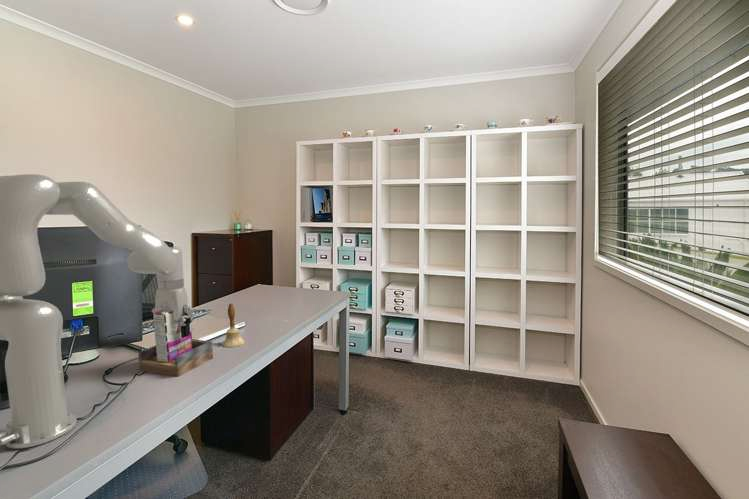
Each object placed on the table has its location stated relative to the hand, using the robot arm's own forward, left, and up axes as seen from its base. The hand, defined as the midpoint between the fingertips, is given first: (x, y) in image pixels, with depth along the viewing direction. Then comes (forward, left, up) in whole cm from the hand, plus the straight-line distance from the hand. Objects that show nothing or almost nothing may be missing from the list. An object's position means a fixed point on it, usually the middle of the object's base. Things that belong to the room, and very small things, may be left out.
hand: (174, 335), depth 123 cm
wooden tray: (0, 0, -10) cm, 10 cm away
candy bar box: (0, 0, -7) cm, 7 cm away
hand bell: (+22, -5, -11) cm, 25 cm away
